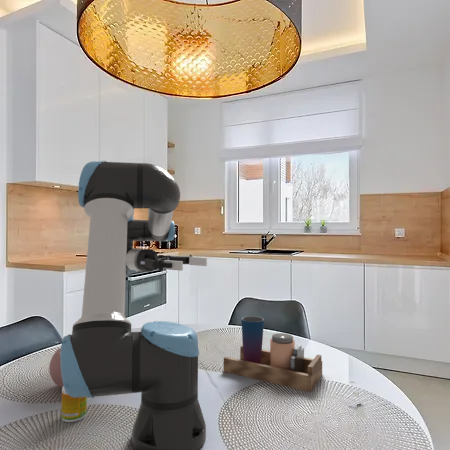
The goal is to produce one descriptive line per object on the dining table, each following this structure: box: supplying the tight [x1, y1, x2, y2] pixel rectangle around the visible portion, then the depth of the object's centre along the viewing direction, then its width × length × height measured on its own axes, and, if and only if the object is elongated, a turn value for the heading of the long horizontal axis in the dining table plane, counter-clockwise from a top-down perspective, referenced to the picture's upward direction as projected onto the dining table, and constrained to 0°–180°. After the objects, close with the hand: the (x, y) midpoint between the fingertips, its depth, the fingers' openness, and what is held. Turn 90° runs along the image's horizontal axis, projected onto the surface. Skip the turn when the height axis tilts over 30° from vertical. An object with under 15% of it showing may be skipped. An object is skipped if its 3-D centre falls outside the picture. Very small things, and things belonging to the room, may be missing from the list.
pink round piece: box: [48, 347, 64, 389], centre depth 97 cm, size 12×12×12 cm
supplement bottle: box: [61, 386, 88, 423], centre depth 82 cm, size 5×5×10 cm
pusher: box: [291, 344, 305, 373], centre depth 101 cm, size 1×9×9 cm, turn 151°
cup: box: [241, 315, 265, 364], centre depth 107 cm, size 7×7×15 cm
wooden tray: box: [223, 345, 323, 393], centre depth 104 cm, size 26×12×7 cm, turn 61°
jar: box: [269, 332, 296, 370], centre depth 103 cm, size 7×7×11 cm
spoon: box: [348, 381, 367, 419], centre depth 89 cm, size 4×21×2 cm, turn 168°
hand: (194, 263), depth 112 cm, fingers open, 13 cm apart
